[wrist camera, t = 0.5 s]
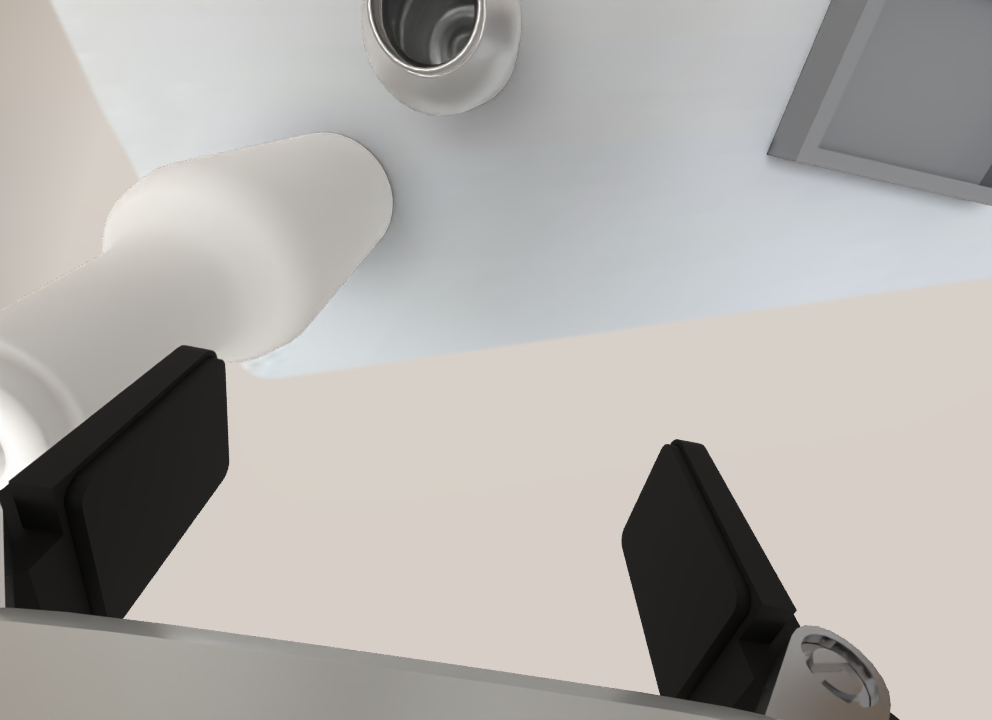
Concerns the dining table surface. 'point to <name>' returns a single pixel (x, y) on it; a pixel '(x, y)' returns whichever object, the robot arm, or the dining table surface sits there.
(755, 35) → the dining table surface
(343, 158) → the alcohol
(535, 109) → the dining table surface
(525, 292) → the dining table surface
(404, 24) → the plastic bottle
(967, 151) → the tray
